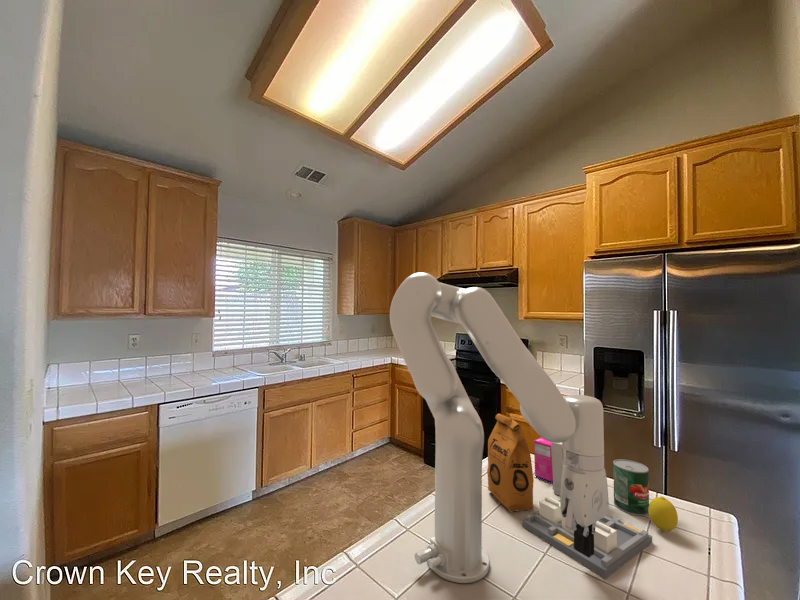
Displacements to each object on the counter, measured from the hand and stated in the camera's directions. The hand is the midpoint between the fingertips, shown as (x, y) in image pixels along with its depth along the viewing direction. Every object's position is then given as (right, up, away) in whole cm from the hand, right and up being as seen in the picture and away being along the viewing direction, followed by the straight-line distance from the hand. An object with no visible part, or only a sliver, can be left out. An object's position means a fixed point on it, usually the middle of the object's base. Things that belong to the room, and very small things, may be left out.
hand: (584, 551), depth 69 cm
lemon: (+25, -4, +12) cm, 28 cm away
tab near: (+6, -2, +4) cm, 7 cm away
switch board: (+6, -4, +11) cm, 13 cm away
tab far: (0, -2, +13) cm, 14 cm away
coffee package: (-7, -5, +25) cm, 26 cm away
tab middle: (+3, -2, +9) cm, 9 cm away
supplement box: (+9, -5, +39) cm, 40 cm away
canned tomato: (+25, -5, +22) cm, 34 cm away
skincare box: (+11, -5, +28) cm, 31 cm away
